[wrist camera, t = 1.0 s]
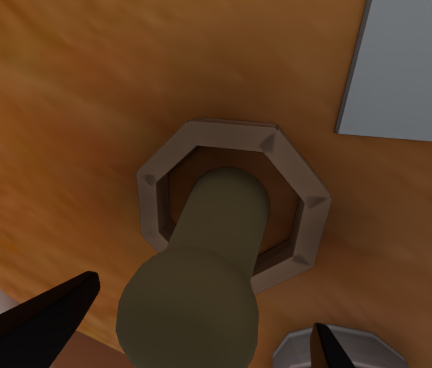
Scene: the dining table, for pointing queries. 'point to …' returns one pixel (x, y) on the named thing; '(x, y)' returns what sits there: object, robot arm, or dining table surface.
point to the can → (349, 340)
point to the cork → (200, 281)
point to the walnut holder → (252, 141)
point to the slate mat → (391, 73)
